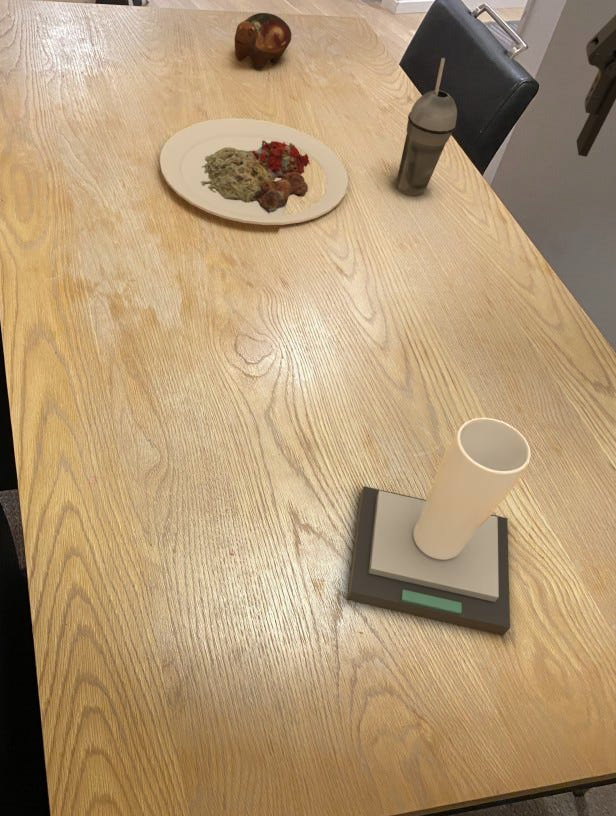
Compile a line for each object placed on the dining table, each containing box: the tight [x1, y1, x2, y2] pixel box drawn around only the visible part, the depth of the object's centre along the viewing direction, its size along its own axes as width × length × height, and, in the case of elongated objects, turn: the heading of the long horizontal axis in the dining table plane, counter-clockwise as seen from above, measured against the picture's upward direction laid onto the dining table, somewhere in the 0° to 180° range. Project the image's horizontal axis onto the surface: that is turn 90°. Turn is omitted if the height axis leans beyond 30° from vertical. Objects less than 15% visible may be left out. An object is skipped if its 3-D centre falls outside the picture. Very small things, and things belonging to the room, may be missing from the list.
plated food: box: [159, 117, 349, 226], centre depth 120 cm, size 30×30×3 cm
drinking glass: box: [413, 417, 532, 560], centre depth 73 cm, size 7×7×15 cm
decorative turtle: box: [234, 12, 292, 71], centre depth 142 cm, size 10×15×8 cm, turn 143°
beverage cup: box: [395, 57, 458, 198], centre depth 115 cm, size 7×7×20 cm
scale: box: [346, 485, 511, 637], centre depth 80 cm, size 16×14×4 cm
